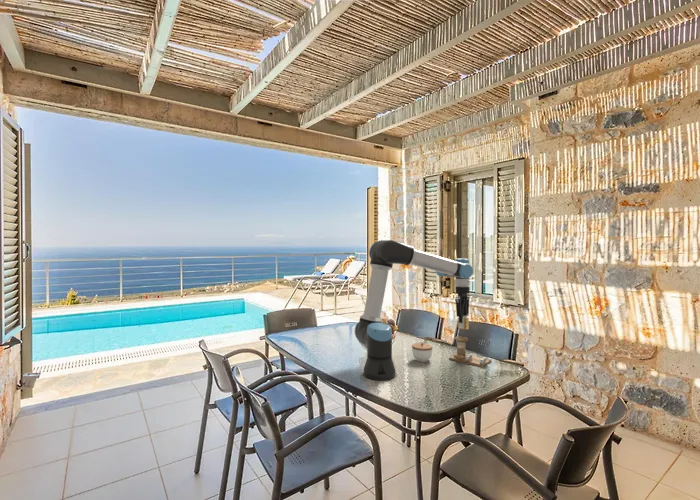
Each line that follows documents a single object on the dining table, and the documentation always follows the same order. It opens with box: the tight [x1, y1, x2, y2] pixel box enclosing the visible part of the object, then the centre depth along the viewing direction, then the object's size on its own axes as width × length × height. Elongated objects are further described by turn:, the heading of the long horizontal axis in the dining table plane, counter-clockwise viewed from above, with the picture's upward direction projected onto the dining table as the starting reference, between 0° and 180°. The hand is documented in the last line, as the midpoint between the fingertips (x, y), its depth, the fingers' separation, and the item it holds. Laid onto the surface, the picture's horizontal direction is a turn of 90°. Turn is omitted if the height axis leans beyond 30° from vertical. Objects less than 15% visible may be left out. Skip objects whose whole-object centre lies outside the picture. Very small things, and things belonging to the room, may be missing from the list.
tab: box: [457, 317, 470, 331], centre depth 198 cm, size 3×5×6 cm, turn 47°
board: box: [449, 353, 492, 368], centre depth 189 cm, size 12×18×4 cm, turn 47°
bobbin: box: [453, 335, 470, 359], centre depth 192 cm, size 8×8×10 cm
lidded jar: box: [411, 342, 433, 363], centre depth 189 cm, size 11×11×9 cm
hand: (462, 327), depth 198 cm, fingers closed on tab, 3 cm apart
